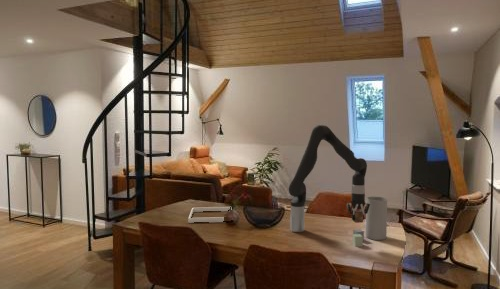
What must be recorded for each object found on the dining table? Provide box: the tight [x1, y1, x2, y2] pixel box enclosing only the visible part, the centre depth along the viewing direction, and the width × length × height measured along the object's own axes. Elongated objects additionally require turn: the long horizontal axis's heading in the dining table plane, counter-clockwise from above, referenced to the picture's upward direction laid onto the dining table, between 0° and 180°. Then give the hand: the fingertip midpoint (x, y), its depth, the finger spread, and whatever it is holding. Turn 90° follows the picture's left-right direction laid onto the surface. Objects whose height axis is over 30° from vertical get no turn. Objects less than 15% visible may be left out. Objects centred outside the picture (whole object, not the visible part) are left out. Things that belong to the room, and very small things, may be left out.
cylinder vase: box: [365, 196, 388, 241], centre depth 226 cm, size 12×12×25 cm
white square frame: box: [187, 206, 231, 224], centre depth 277 cm, size 32×32×4 cm
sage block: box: [351, 234, 364, 248], centre depth 212 cm, size 4×4×6 cm
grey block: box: [352, 228, 365, 242], centre depth 222 cm, size 4×4×6 cm
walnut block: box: [353, 210, 364, 223], centre depth 211 cm, size 4×4×6 cm
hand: (357, 220), depth 212 cm, fingers closed on walnut block, 4 cm apart
